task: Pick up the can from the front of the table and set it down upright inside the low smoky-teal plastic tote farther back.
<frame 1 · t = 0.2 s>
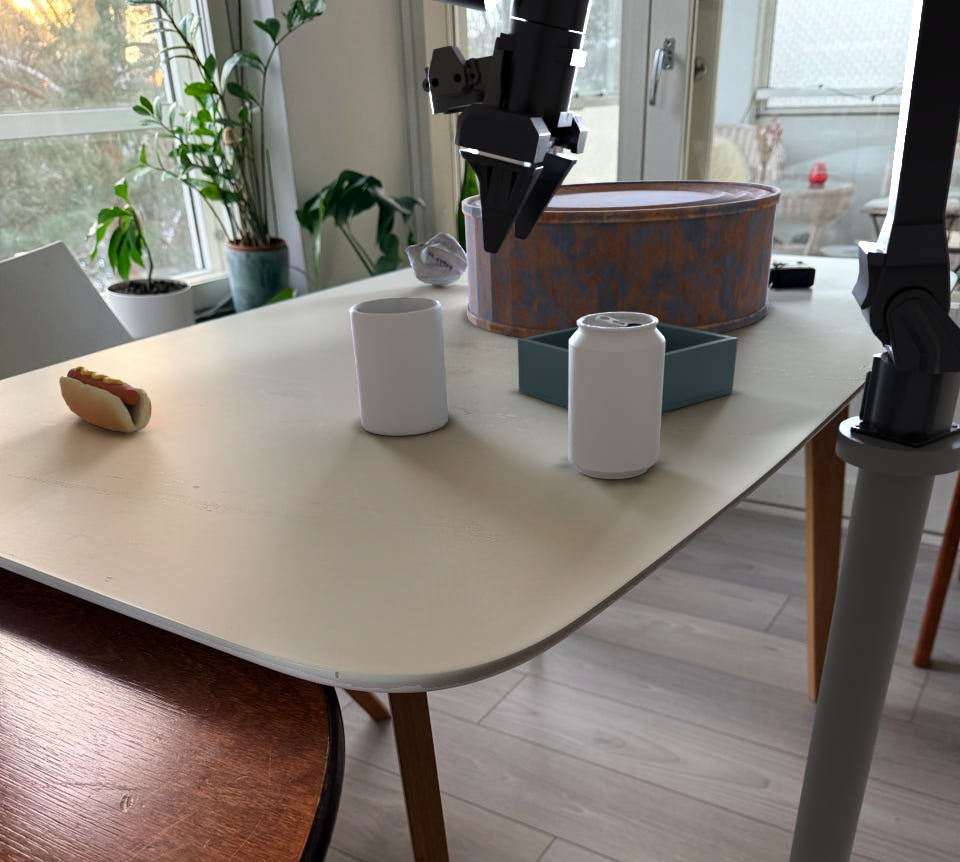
hand: (505, 245, 77), 16 cm above the table, tool pointing down, fingers open, 9 cm apart
tote: (623, 392, 95), on the table
can: (612, 469, 76), on the table
crumpled paper ball: (437, 285, 157), on the table
mug: (412, 419, 90), on the table
food: (111, 424, 93), on the table
container: (614, 309, 132), on the table
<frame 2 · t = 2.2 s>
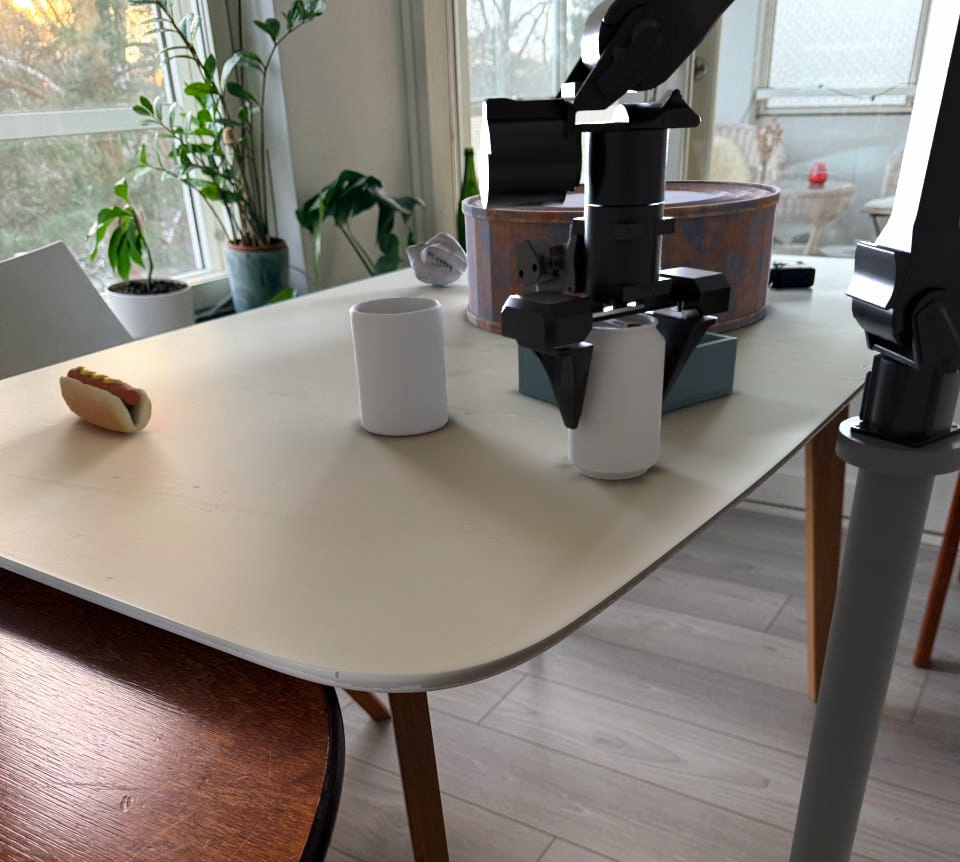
hand: (614, 416, 73), 4 cm above the table, tool pointing down
can: (612, 469, 76), on the table, touching gripper
everything else where it was.
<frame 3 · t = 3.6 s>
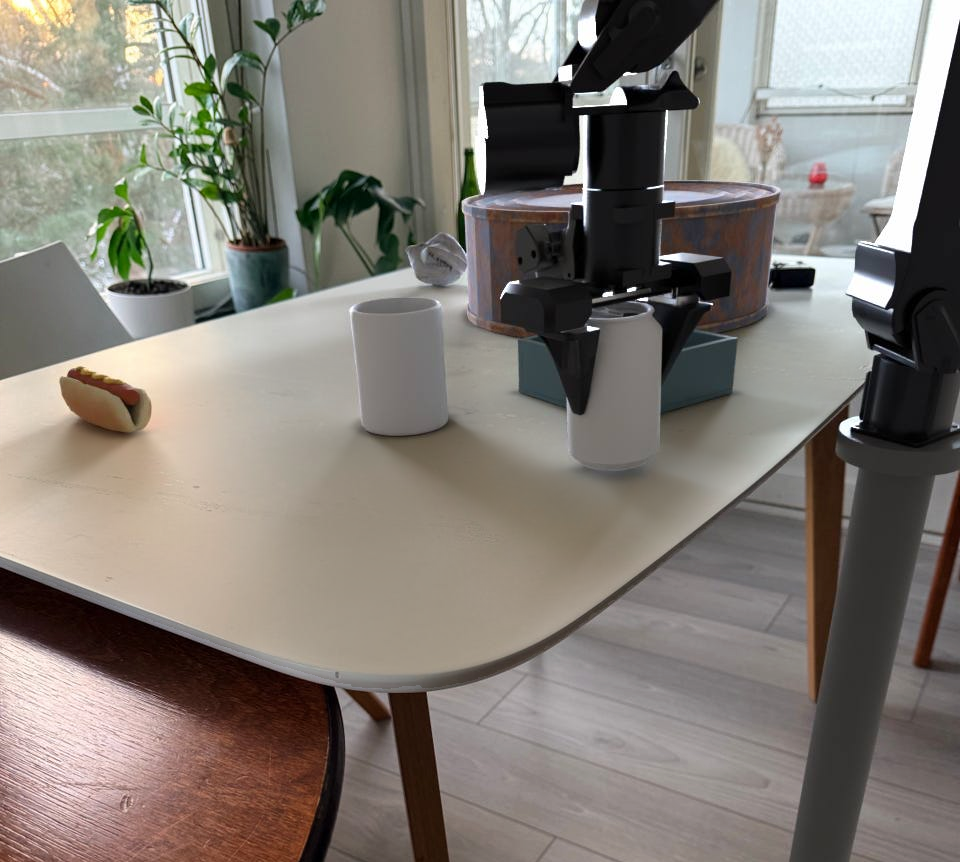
hand: (616, 403, 73), 5 cm above the table, tool pointing down, fingers closed on can, 7 cm apart
can: (613, 460, 75), point 1 cm above the table, touching gripper
everything else where it was.
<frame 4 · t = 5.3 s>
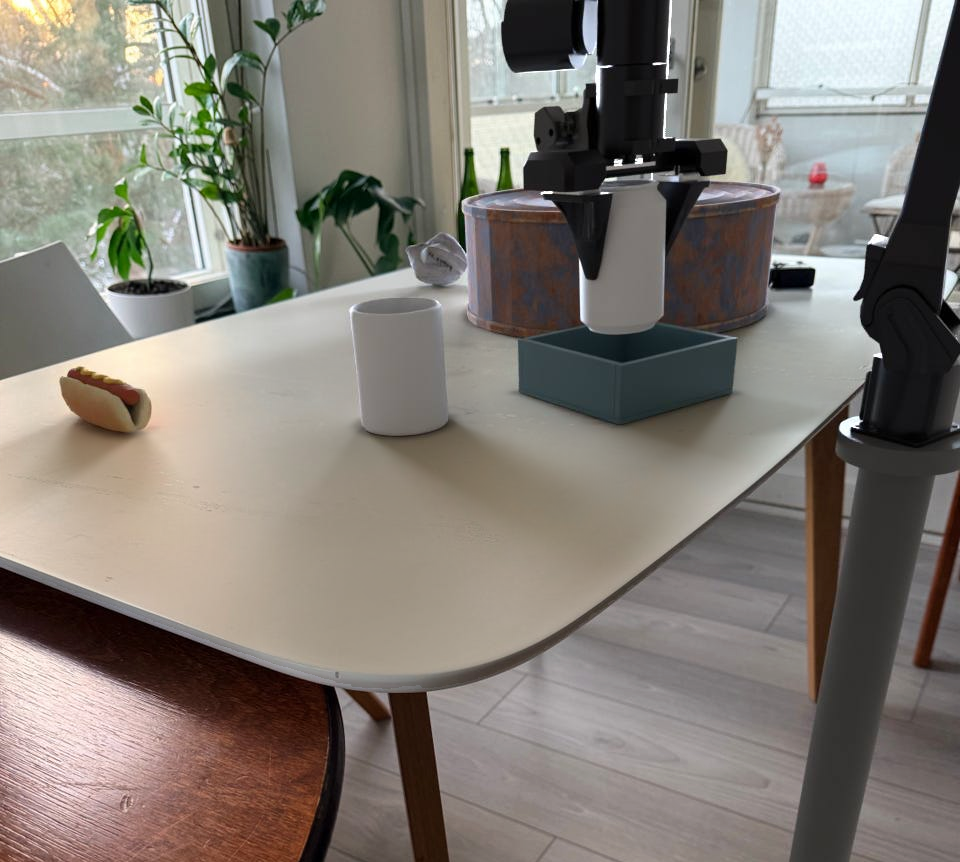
hand: (624, 273, 81), 13 cm above the table, tool pointing down, fingers closed on can, 8 cm apart
can: (621, 328, 83), point 8 cm above the table, touching gripper
everything else where it was.
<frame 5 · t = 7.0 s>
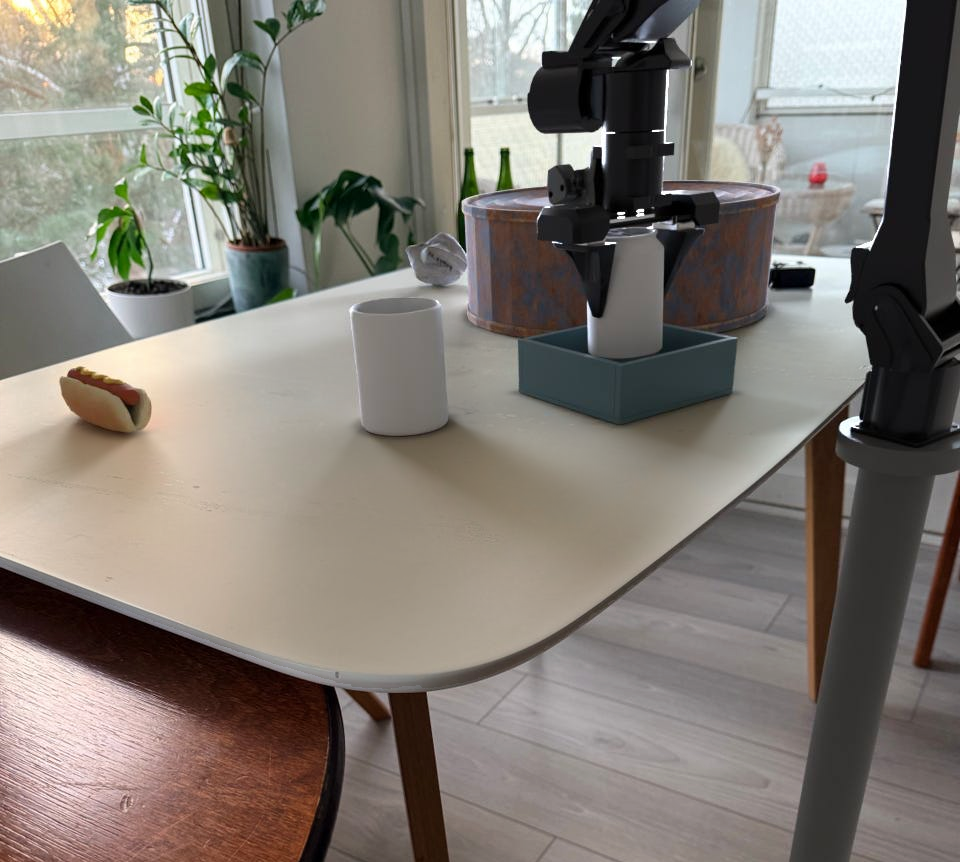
hand: (627, 311, 90), 8 cm above the table, tool pointing down, fingers closed on can, 8 cm apart
can: (624, 359, 93), point 3 cm above the table, touching gripper
everything else where it was.
when the fingers open (5 cm above the table, at t = 8.3 s): can stays where it is, resting on tote.
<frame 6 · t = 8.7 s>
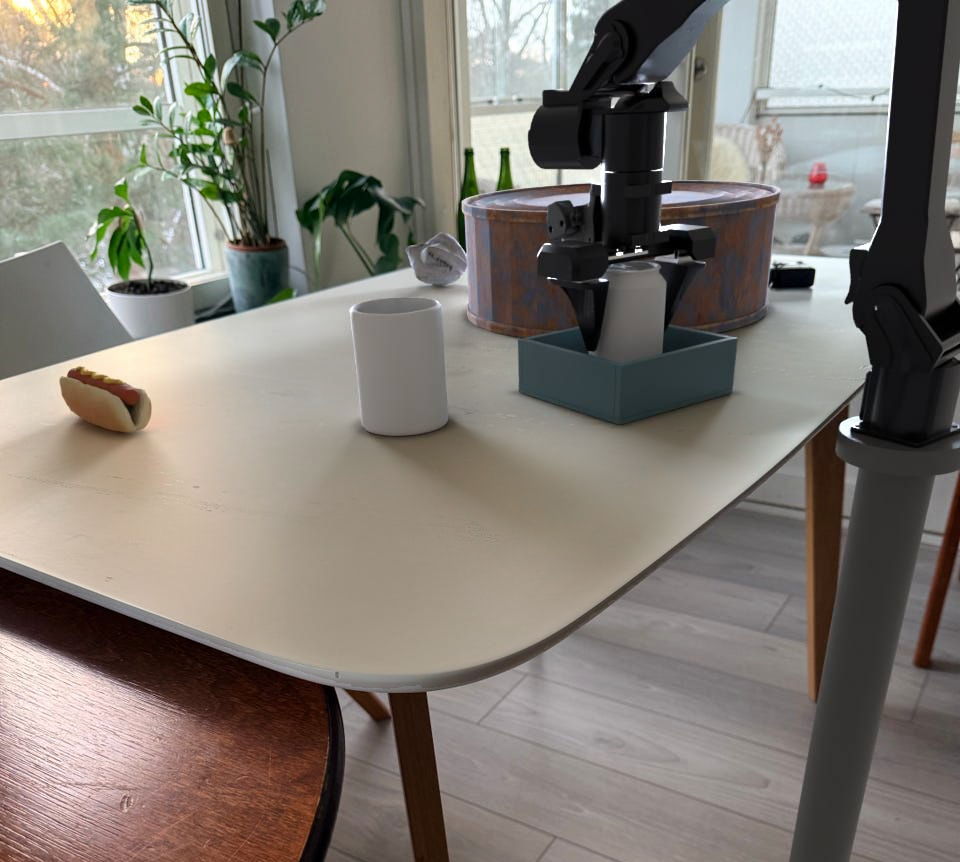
hand: (625, 343, 92), 5 cm above the table, tool pointing down, fingers open, 9 cm apart
can: (623, 389, 95), resting on tote
everything else where it was.
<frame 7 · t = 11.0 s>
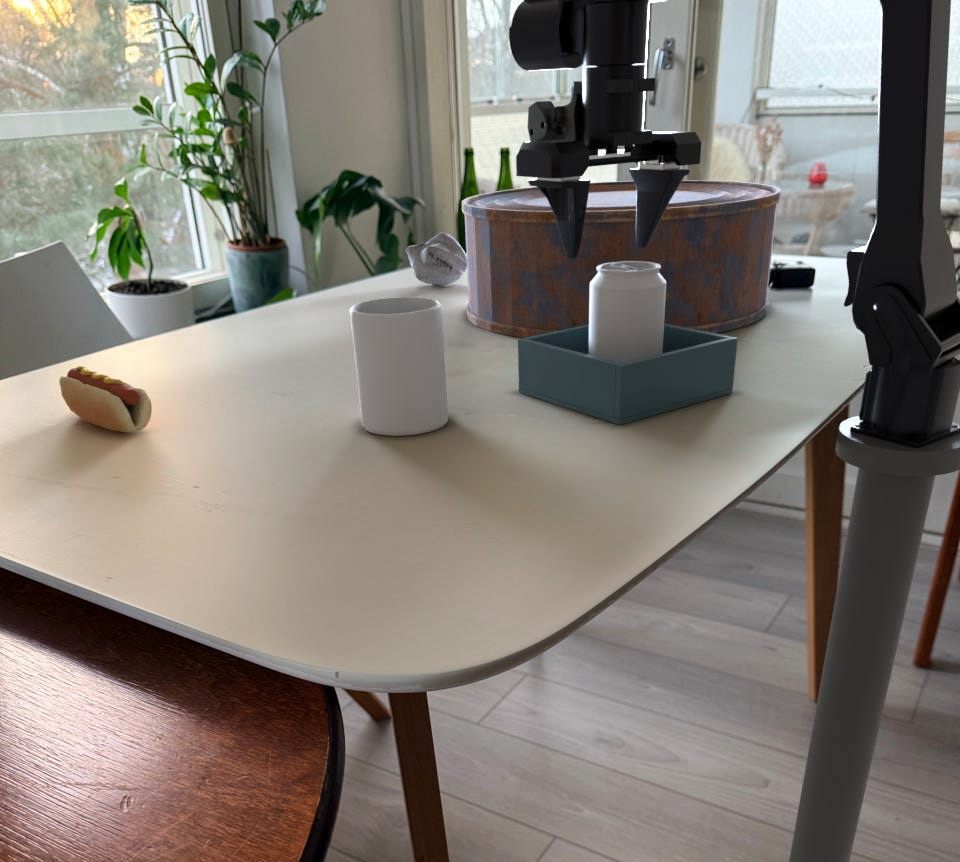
hand: (607, 252, 90), 13 cm above the table, tool pointing down, fingers open, 9 cm apart
nothing on the table moved.
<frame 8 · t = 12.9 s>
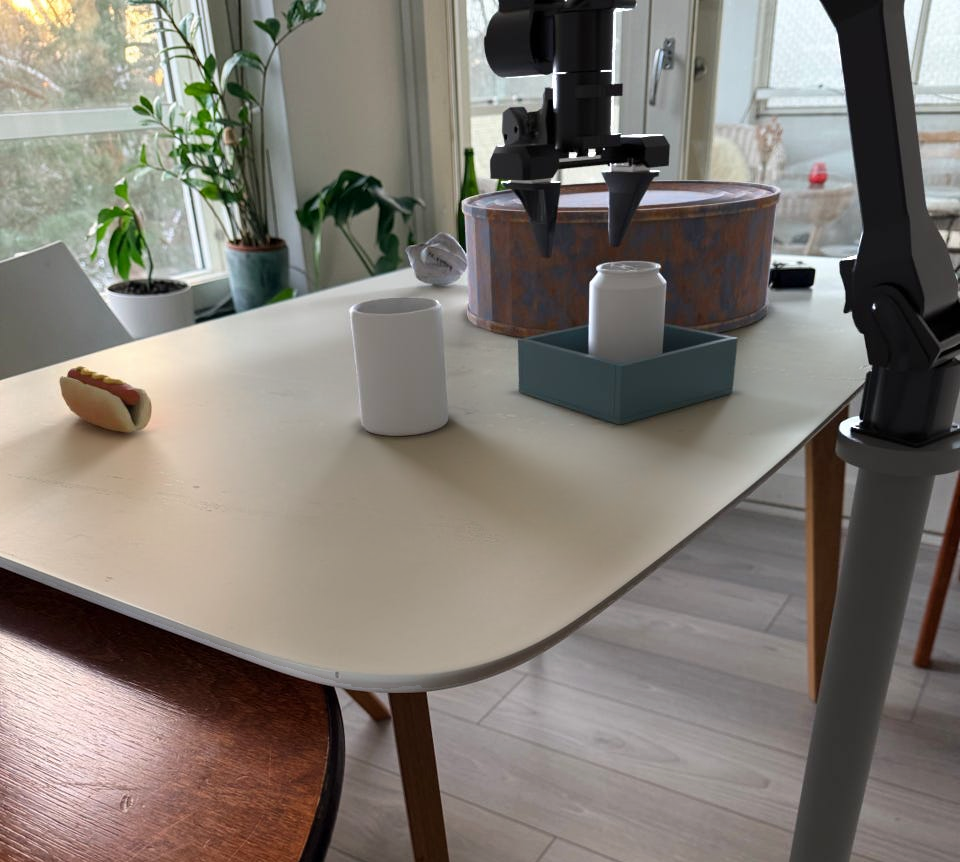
hand: (581, 252, 93), 13 cm above the table, tool pointing down, fingers open, 9 cm apart
nothing on the table moved.
at the end: can inside the target area in the tote (0.1 cm from its centre), point 0.3 cm above the tote's base; can tilted 0° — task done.
